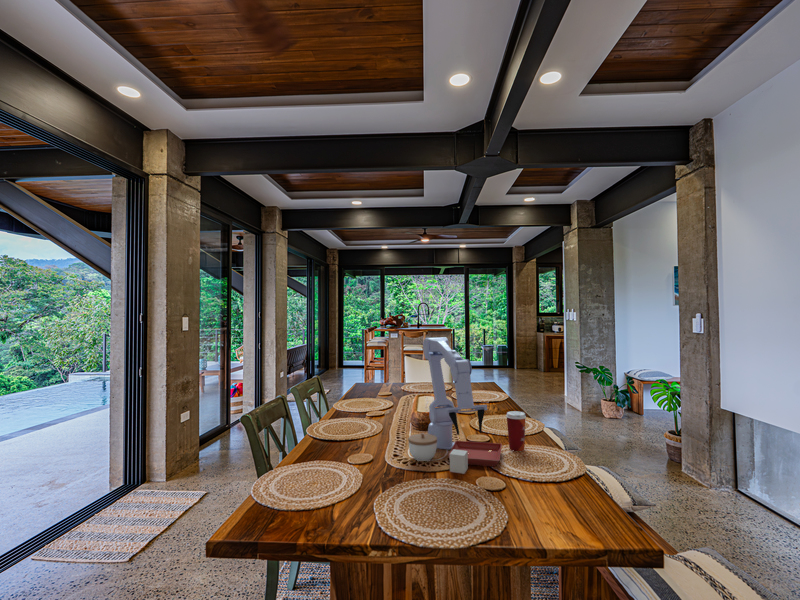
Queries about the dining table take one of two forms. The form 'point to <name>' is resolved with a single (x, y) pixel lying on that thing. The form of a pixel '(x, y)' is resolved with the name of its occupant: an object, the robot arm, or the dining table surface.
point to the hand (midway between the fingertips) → (469, 433)
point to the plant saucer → (480, 452)
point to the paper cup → (516, 430)
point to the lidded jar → (422, 446)
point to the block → (458, 461)
